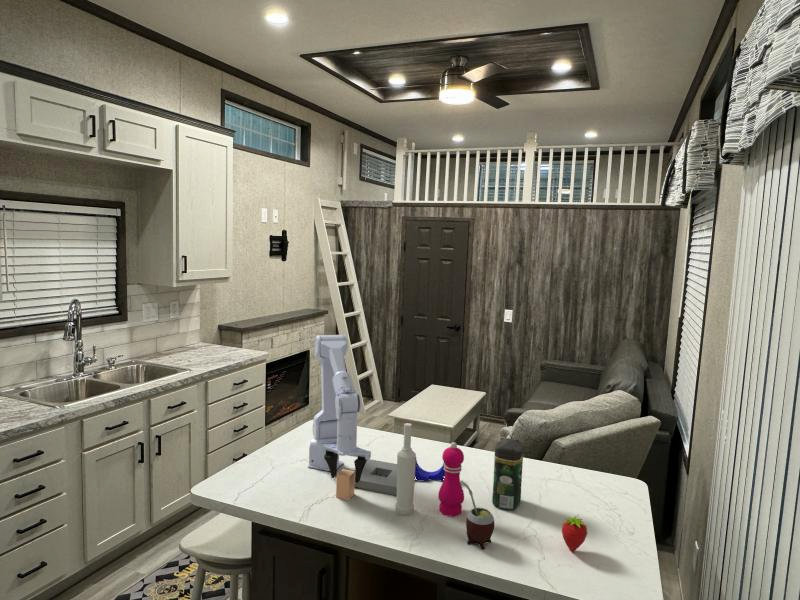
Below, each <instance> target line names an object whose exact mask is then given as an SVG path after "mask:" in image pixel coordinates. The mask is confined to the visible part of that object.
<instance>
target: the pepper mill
mask: <svg viewBox="0 0 800 600" xmlns="http://www.w3.org/2000/svg"><path fill="white" fill-rule="evenodd" d="M441 457H442V461H443V463H444V470H445V476H444V477H445V478H444V481H442V484H441V485H440V487H439V490H438V495H437V497H438V500H439V501H440V503H439V512H440V514H442V515H444V516H446V517H458V516H460V515H461V514H462V510H463V506H462V504H463V502H464V501H465V494H464V492H465V491H464V489H463V486H462V484H461V483H462V482H461V477H460V475H461V472H462V466H463V465H462V464H463V463H464V460H465V455H464V452H463V451H462V449H461V448H459V447H458V444H457V442H456V441H455V442H454V441H452V442H451V443H450V446H449V447H446V448H445V449H444V450H443V451H442V456H441Z"/></svg>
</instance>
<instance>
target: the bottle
mask: <svg viewBox="0 0 800 600" xmlns="http://www.w3.org/2000/svg"><path fill="white" fill-rule="evenodd" d="M412 428H413V427H412V423H410V422H409V423H408V422H406V423H404V424H403V446H402V448H401V450H399V451H398V452H397V455H396V457H397V458H396V459H397V462H396V464H397V495H396V503H395V506H394V507H395V511H396V513H397V514H398V515H401V516H410V515H411V514H413V513H414V508H415V505H414V493H415V491H414V490H415V480H414V479H415V463H416V460H417V454H416V452H415V451H414V450H413V448H412V447H411V445H412V444H411V443H412Z"/></svg>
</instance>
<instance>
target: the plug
mask: <svg viewBox="0 0 800 600" xmlns="http://www.w3.org/2000/svg"><path fill="white" fill-rule="evenodd" d="M354 484H355V470H350V469H344V468H342V469H341V470H339V472H337V475H336V488H335V490H336V491H335V497H336V498H337V499H342V500H347V501H349V500H350V499H352V497H353V496H354V495H355V487H354Z"/></svg>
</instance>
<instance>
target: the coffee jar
mask: <svg viewBox="0 0 800 600" xmlns="http://www.w3.org/2000/svg"><path fill="white" fill-rule="evenodd" d="M524 450H525V447H524V445H523V443H522V442H521V441H520V440H518V439H515V438H514V439H513V438H509V437H507V438H506V437H505V438H504V439H501V440H499V441H498V442H497V443H496V445H495V447H494V456H493V457H494V463H493V464H494V465H493V468H494V469H493V483H492V484H493V485H492V499H491V500H492V501H491V502H492V504H493V506H495V507H497V508H499V509H501V510H507V511H509V510H510V511H511V510H512V511H513V510H517V508H518V507H519V506H520V504H521V501H522V500H521V499H522V481H523V480H522V479H523V464H524Z"/></svg>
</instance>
